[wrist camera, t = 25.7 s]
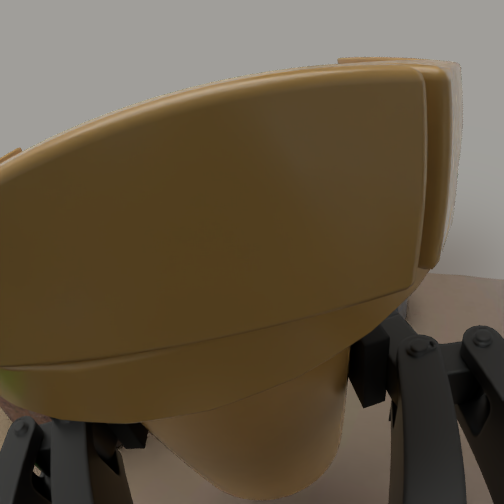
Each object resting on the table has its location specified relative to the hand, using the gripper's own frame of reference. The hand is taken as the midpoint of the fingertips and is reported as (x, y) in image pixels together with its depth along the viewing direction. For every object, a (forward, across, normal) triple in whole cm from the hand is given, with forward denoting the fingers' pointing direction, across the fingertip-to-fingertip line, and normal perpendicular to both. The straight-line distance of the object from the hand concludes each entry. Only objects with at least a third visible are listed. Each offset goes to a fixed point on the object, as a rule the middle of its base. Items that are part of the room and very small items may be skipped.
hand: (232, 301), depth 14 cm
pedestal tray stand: (-3, 0, +6) cm, 6 cm away
